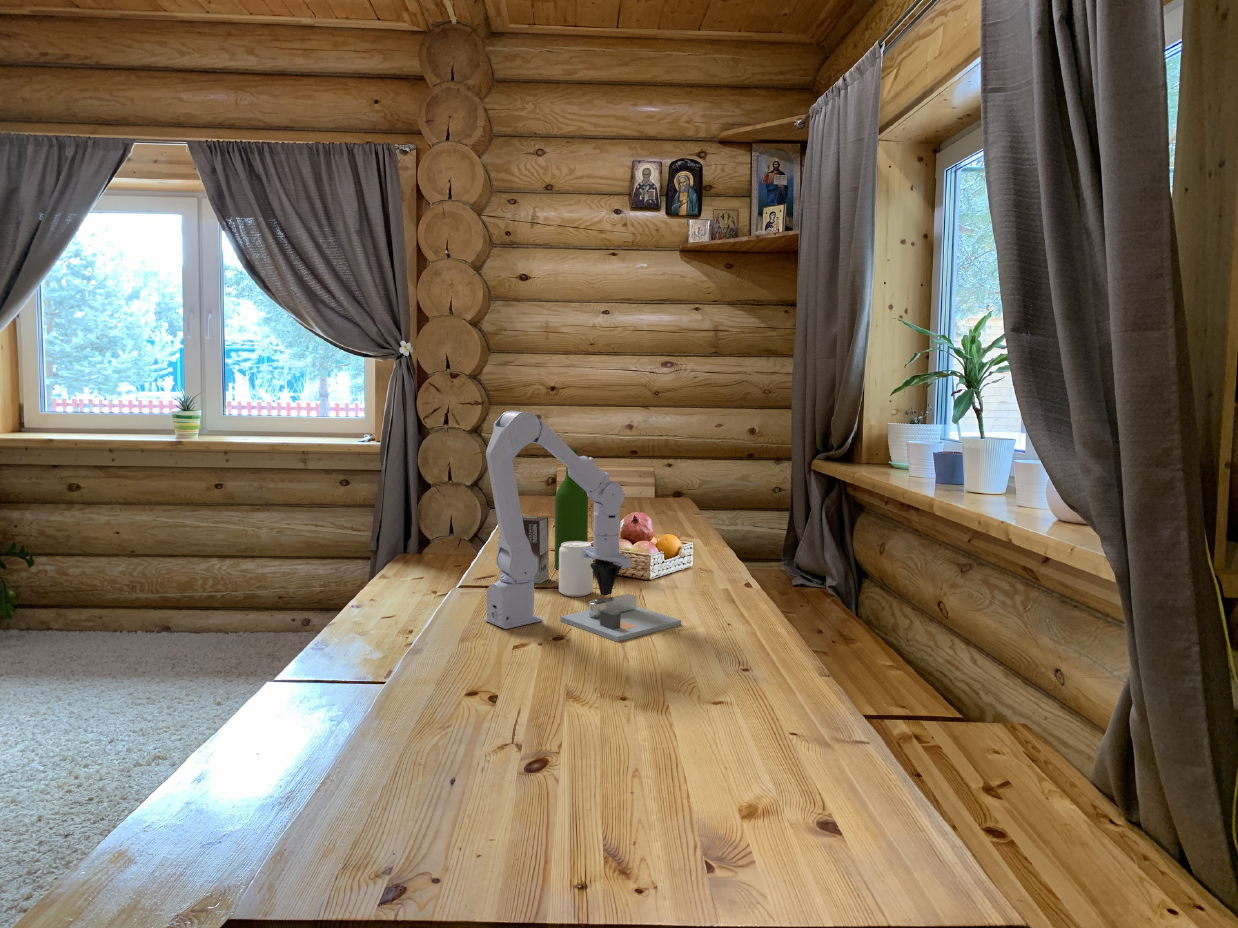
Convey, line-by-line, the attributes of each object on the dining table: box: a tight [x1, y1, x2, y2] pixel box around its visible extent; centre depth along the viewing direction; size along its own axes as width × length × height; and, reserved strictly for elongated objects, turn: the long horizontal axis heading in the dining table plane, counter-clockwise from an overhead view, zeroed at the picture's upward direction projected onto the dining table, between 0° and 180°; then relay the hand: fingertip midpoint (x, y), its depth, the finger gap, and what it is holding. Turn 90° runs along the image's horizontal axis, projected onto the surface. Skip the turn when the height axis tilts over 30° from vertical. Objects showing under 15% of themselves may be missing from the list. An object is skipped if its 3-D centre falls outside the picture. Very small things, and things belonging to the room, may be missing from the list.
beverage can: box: [558, 541, 594, 598], centre depth 194 cm, size 8×8×12 cm
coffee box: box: [522, 515, 550, 584], centre depth 206 cm, size 9×6×16 cm
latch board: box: [559, 605, 682, 643], centre depth 170 cm, size 18×18×4 cm
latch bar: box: [588, 593, 638, 618], centre depth 174 cm, size 12×4×3 cm, turn 132°
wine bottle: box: [554, 448, 589, 571], centre depth 220 cm, size 9×9×32 cm
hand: (606, 594), depth 180 cm, fingers closed
